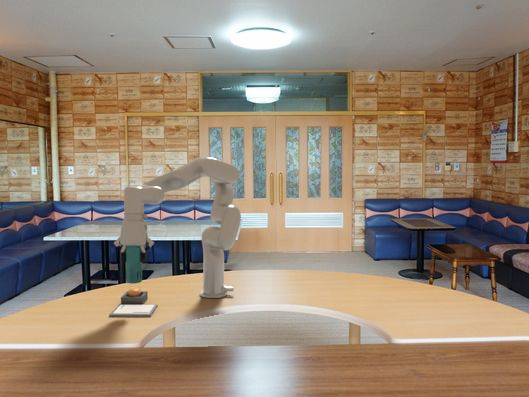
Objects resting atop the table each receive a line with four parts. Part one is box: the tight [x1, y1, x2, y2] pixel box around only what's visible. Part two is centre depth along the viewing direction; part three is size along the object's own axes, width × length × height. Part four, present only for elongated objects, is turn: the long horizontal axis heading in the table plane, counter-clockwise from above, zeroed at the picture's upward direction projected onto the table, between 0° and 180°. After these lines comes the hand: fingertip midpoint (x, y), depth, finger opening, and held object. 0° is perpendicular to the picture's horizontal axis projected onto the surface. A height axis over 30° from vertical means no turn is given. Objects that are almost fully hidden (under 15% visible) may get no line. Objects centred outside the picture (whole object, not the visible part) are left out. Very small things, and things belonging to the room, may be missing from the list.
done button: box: [128, 287, 141, 297], centre depth 187 cm, size 5×5×2 cm
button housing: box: [120, 290, 148, 304], centre depth 187 cm, size 9×9×4 cm
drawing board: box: [108, 303, 159, 318], centre depth 175 cm, size 16×13×1 cm
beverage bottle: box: [125, 245, 143, 285], centre depth 174 cm, size 6×7×20 cm
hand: (133, 261), depth 174 cm, fingers closed on beverage bottle, 6 cm apart
